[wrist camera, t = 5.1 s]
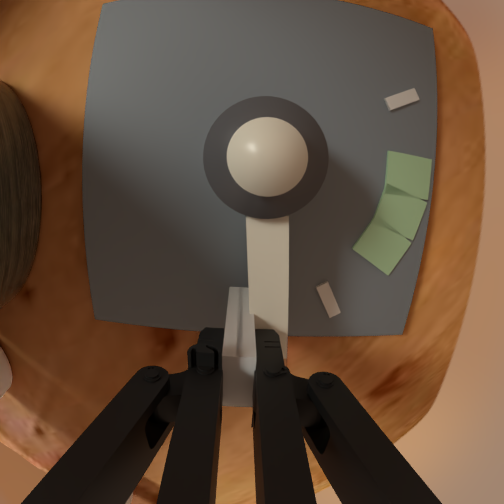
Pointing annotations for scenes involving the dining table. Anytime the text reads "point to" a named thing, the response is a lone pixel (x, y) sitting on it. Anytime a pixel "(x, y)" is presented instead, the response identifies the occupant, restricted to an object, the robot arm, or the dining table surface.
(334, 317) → the dial board
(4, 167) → the planter
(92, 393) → the dining table surface
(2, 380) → the potion bottle
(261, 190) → the peg lever
